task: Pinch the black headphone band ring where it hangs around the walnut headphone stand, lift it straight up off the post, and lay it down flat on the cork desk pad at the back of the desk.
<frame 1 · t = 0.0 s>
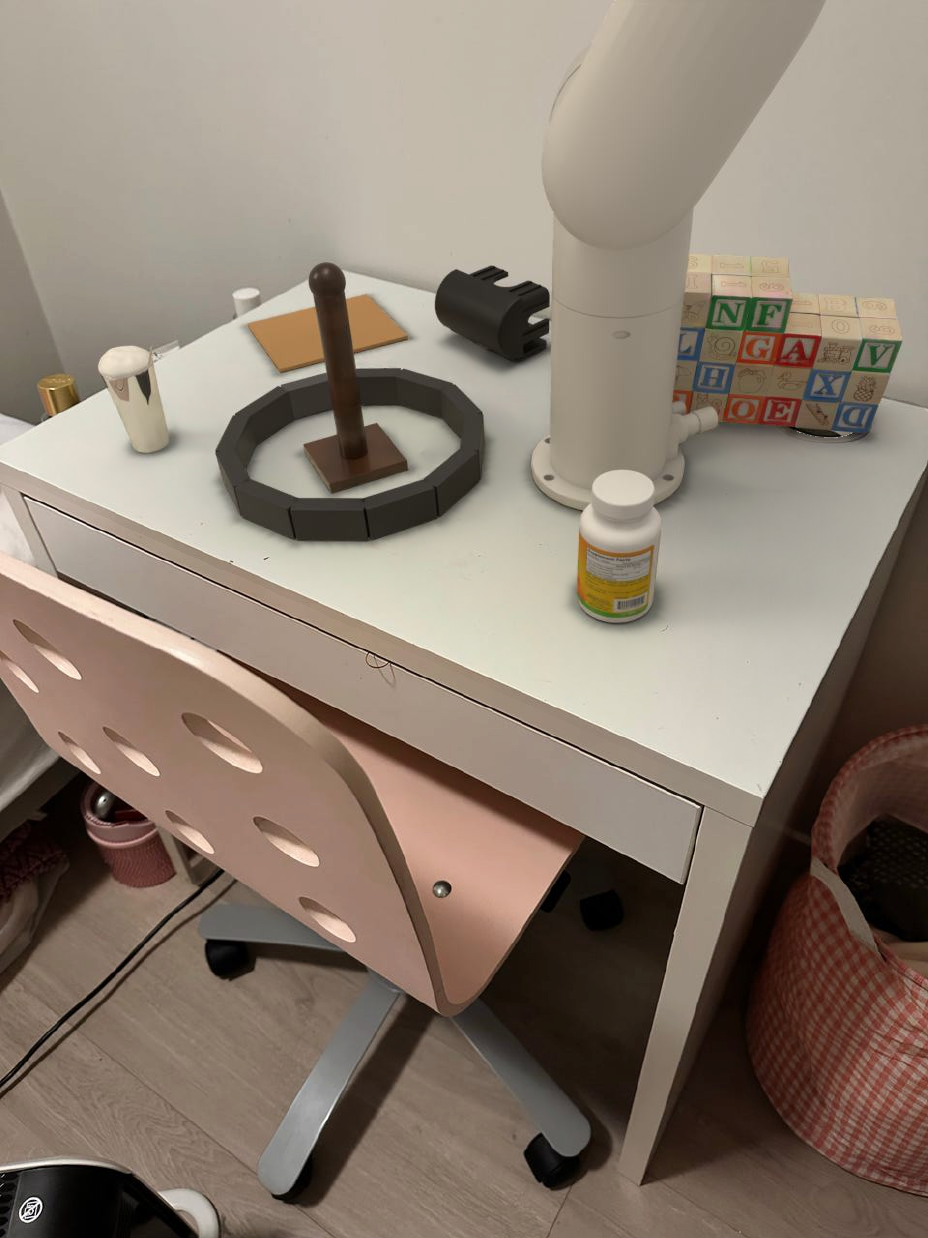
supplement bottle: (614, 601, 66), on the table
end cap: (493, 347, 95), on the table
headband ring: (355, 461, 81), on the table
desk pad: (326, 332, 99), on the table
headphone stand: (355, 461, 81), on the table
stack of blocks: (739, 404, 83), point 1 cm above the table, touching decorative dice
milkshake: (156, 445, 85), on the table
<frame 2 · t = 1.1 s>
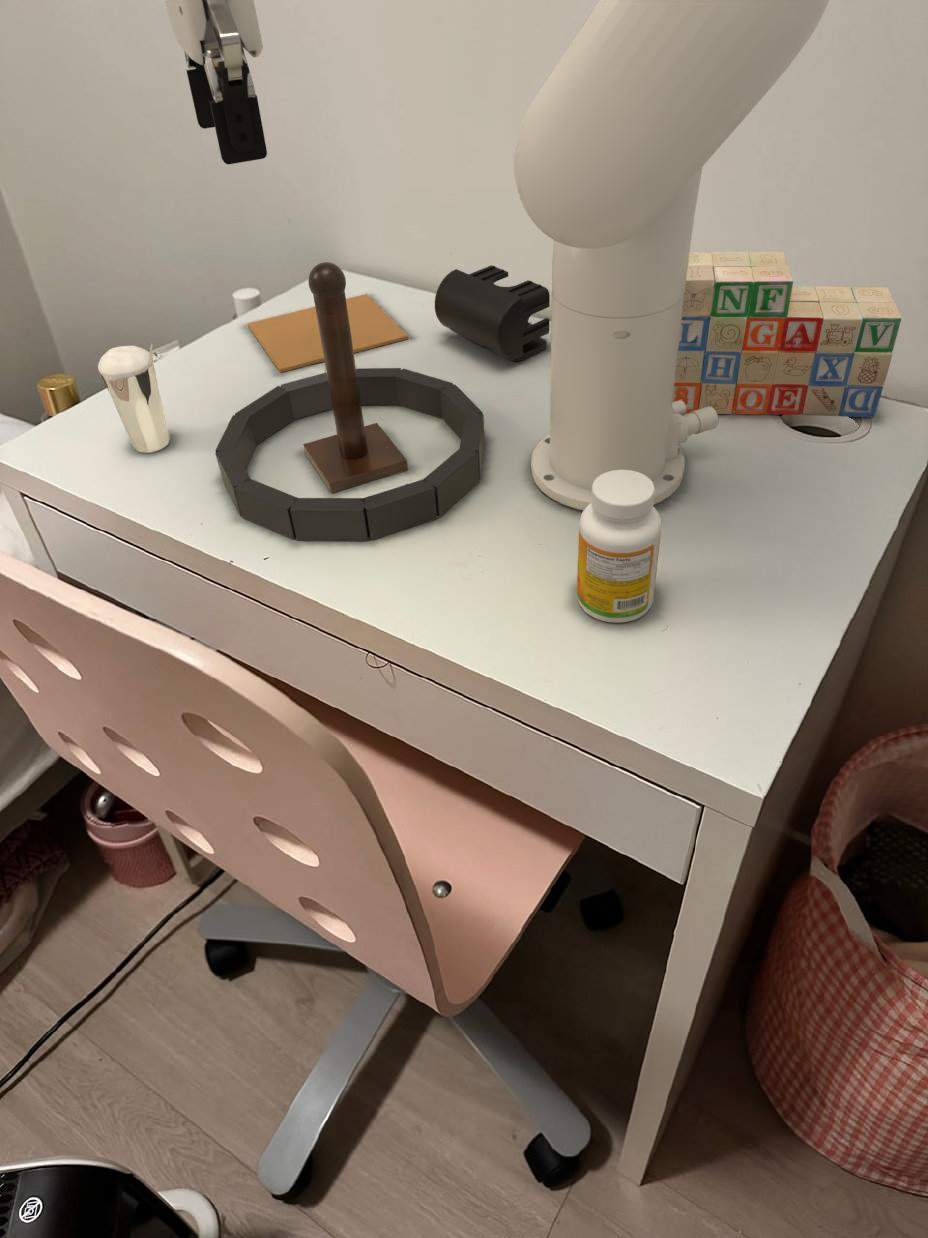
hand: (231, 141, 70), 24 cm above the table, tool pointing down, fingers open, 9 cm apart
stack of blocks: (746, 399, 85), on the table, touching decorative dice
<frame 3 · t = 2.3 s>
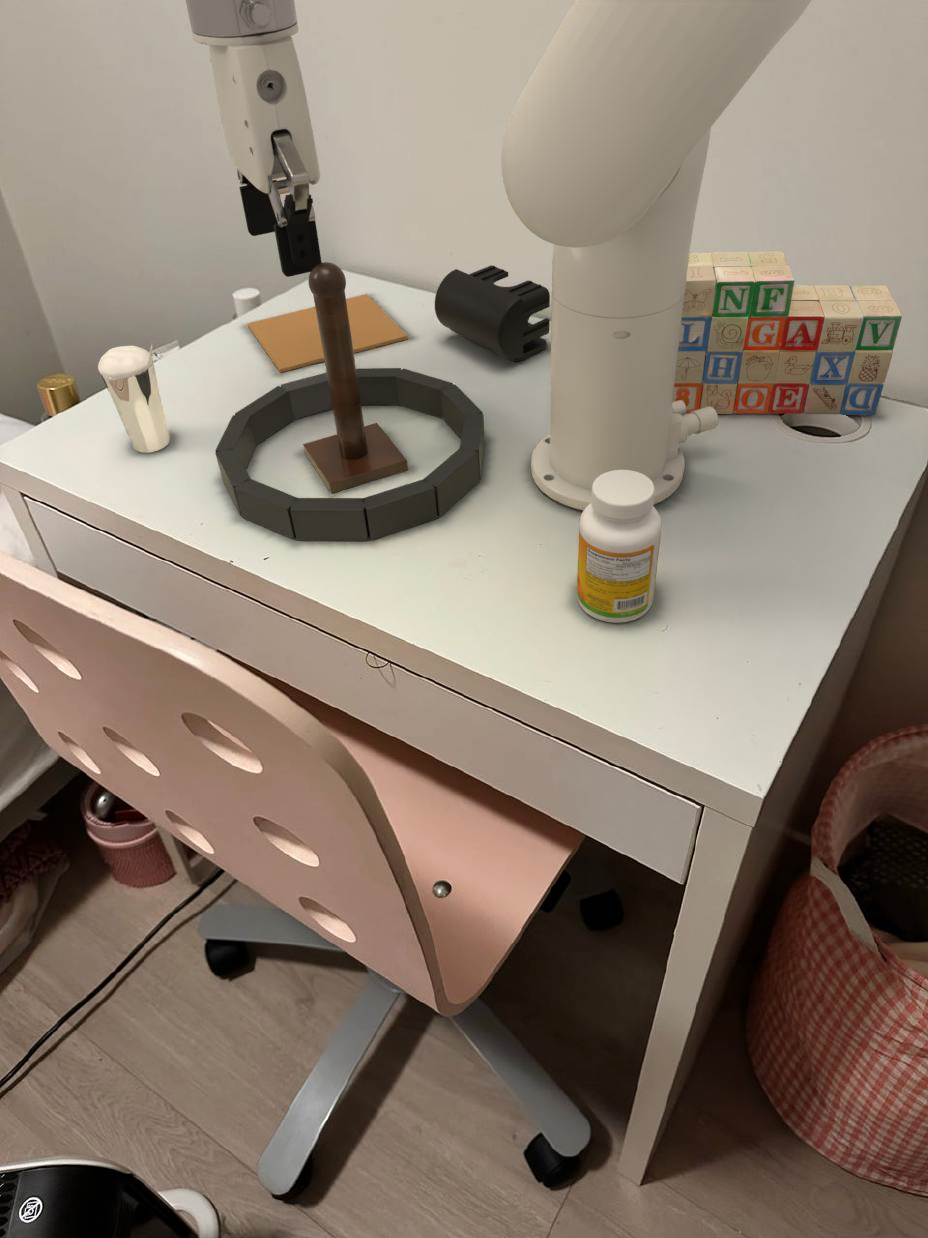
hand: (284, 251, 78), 15 cm above the table, tool pointing down, fingers open, 9 cm apart
stack of blocks: (746, 399, 85), on the table, touching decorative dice
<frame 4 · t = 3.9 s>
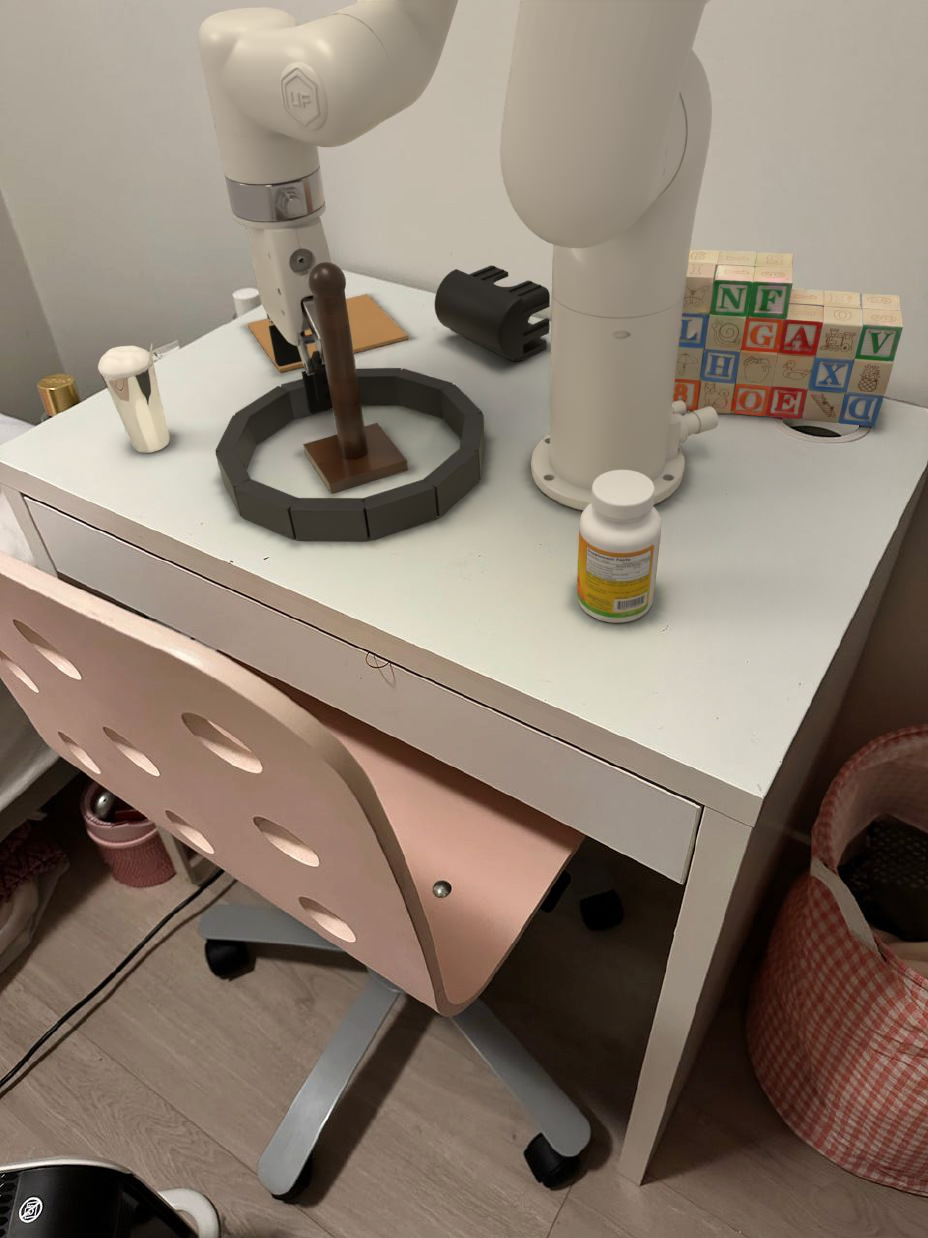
hand: (308, 384, 86), 2 cm above the table, tool pointing down, fingers open, 9 cm apart
stack of blocks: (749, 401, 85), on the table, touching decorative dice
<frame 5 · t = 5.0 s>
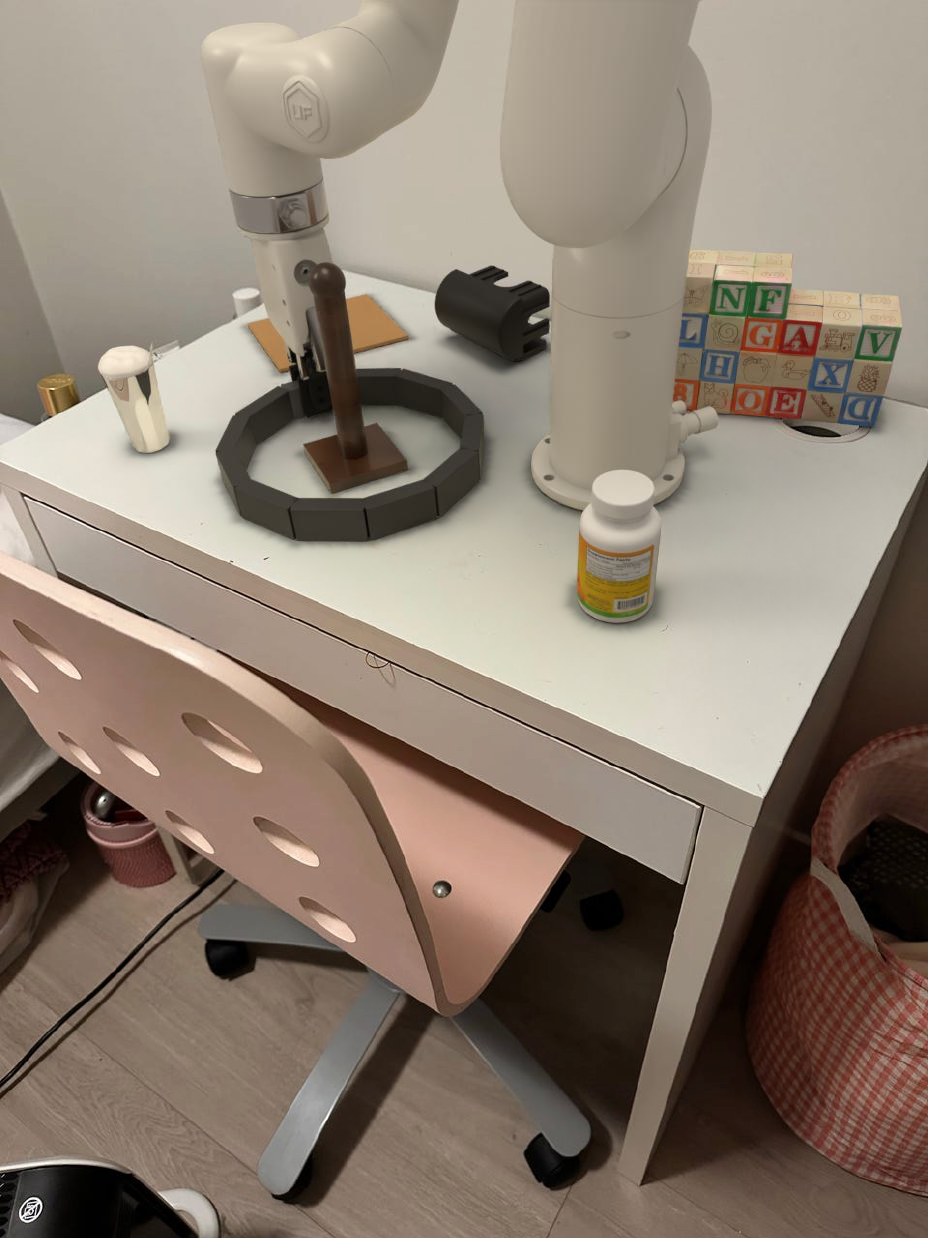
hand: (317, 405, 87), 0 cm above the table, tool pointing down, fingers closed on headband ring
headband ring: (355, 461, 81), on the table, touching gripper
everything else where it was.
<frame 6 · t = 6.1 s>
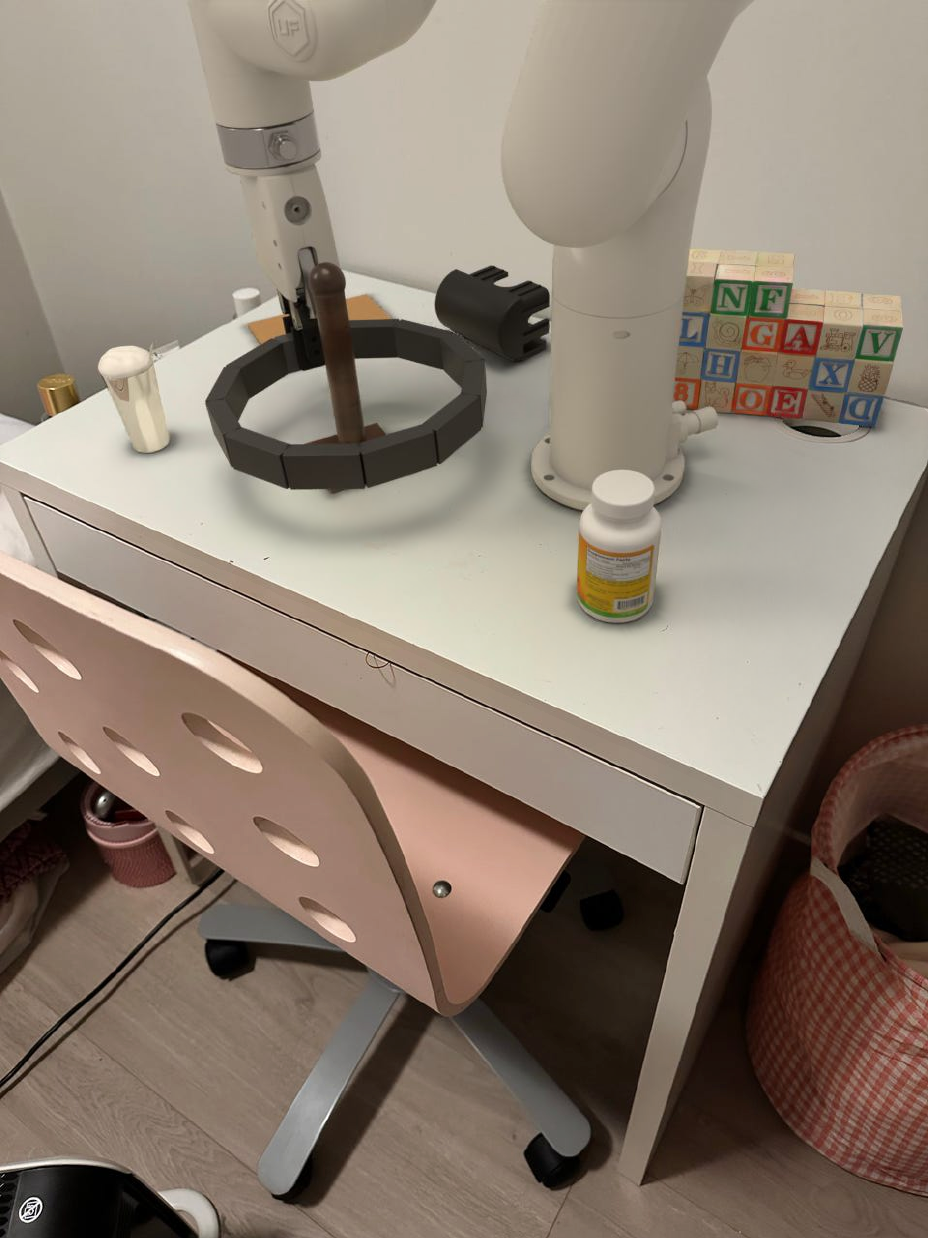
hand: (312, 359, 84), 5 cm above the table, tool pointing down, fingers closed on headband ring
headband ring: (352, 412, 77), point 5 cm above the table, touching gripper
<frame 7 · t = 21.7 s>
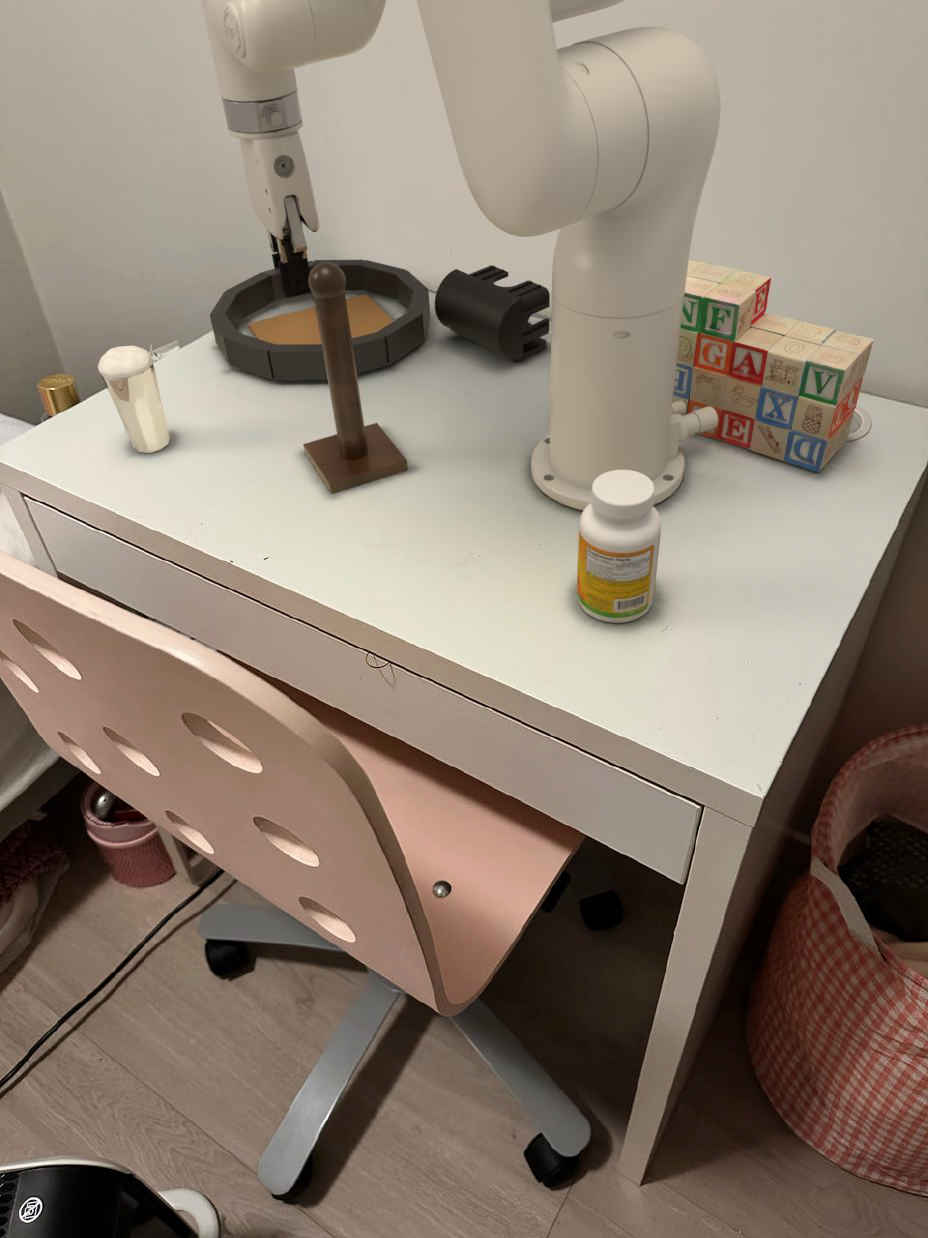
hand: (295, 289, 106), 1 cm above the table, tool pointing down, fingers closed on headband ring
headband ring: (324, 328, 99), on the table, touching gripper
stack of blocks: (716, 422, 83), on the table, touching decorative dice
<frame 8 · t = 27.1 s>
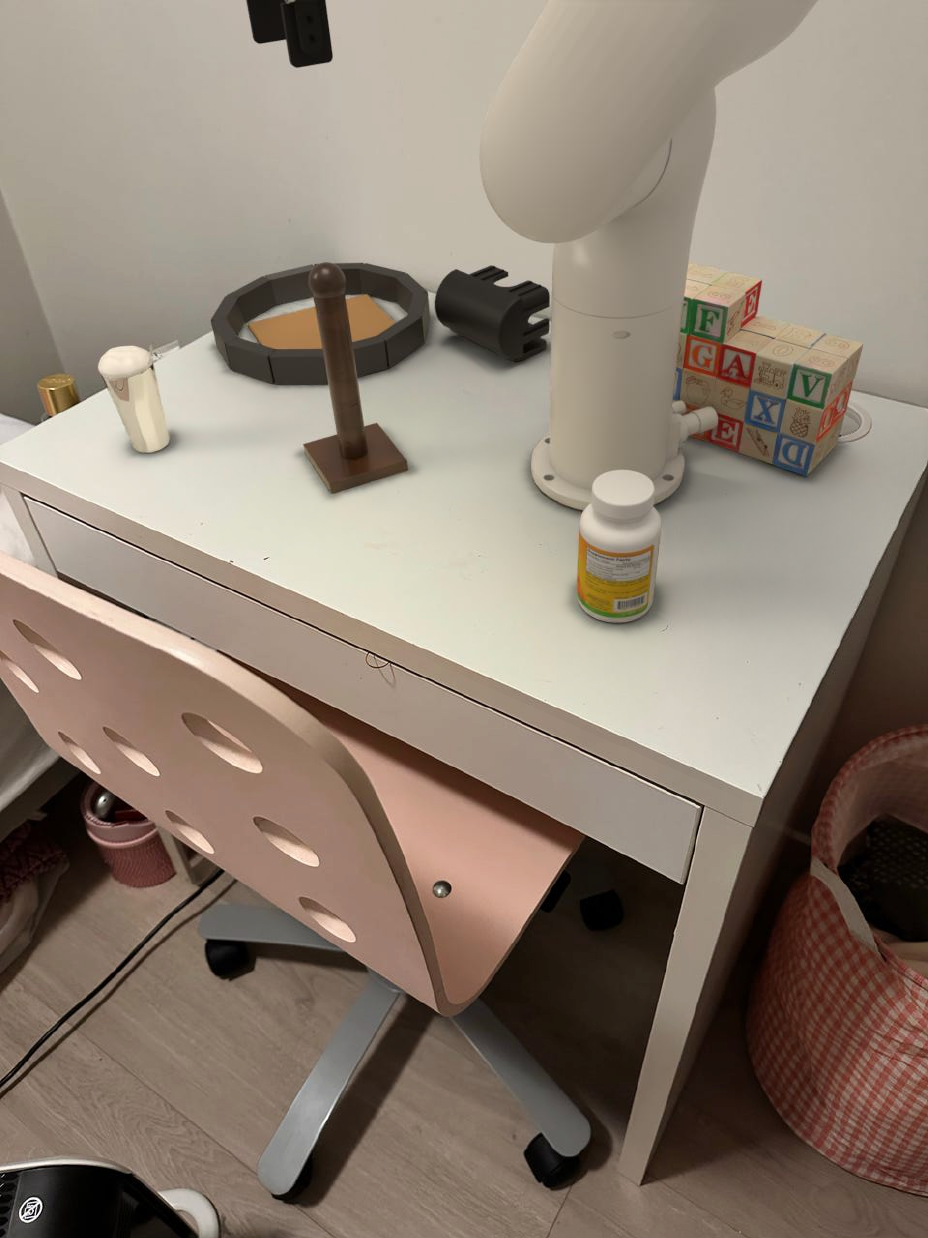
hand: (292, 51, 72), 28 cm above the table, tool pointing down, fingers open, 9 cm apart
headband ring: (324, 332, 99), on the table
stack of blocks: (707, 424, 82), on the table, touching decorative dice
at the end: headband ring inside the target area on the desk pad (0.2 cm from its centre), point 0.0 cm above the desk pad's base; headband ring touching table; the gripper is holding nothing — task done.
